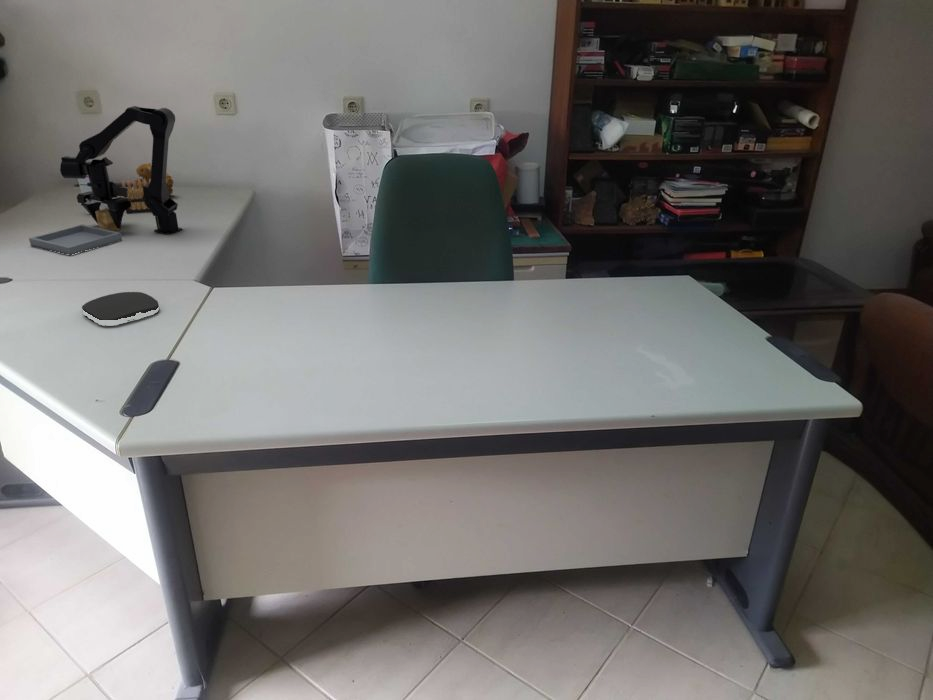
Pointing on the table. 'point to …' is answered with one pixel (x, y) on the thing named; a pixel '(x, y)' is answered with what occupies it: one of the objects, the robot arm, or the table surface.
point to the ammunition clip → (136, 197)
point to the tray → (75, 239)
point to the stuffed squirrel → (145, 172)
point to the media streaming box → (120, 305)
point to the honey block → (105, 220)
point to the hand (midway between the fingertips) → (109, 226)
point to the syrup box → (86, 188)
